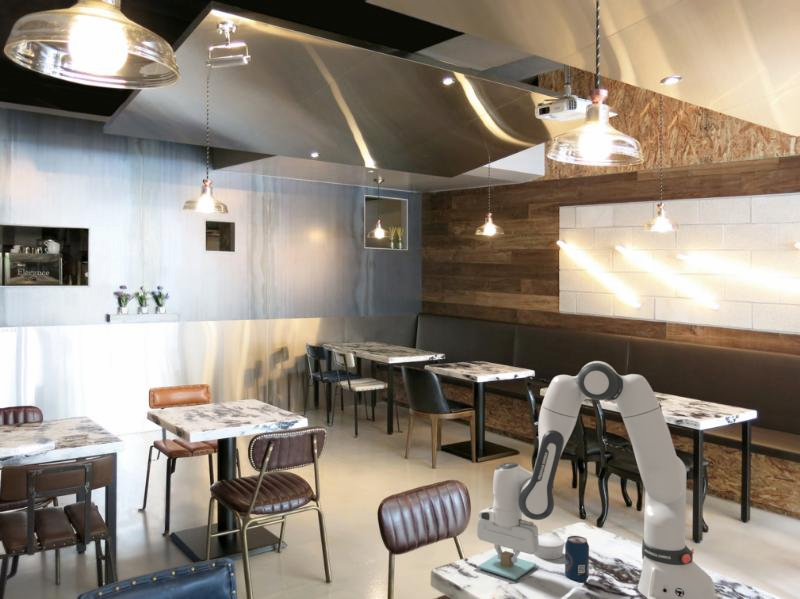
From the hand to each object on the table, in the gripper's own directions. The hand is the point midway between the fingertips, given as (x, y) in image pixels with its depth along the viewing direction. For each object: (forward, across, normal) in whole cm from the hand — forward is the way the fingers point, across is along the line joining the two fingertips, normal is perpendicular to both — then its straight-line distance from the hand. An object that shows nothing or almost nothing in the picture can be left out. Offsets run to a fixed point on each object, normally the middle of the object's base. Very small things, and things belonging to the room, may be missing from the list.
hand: (507, 560), depth 200 cm
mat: (+3, 0, 0) cm, 3 cm away
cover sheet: (+2, 0, 0) cm, 2 cm away
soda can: (+4, -19, -9) cm, 21 cm away
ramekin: (+4, -4, -19) cm, 20 cm away
